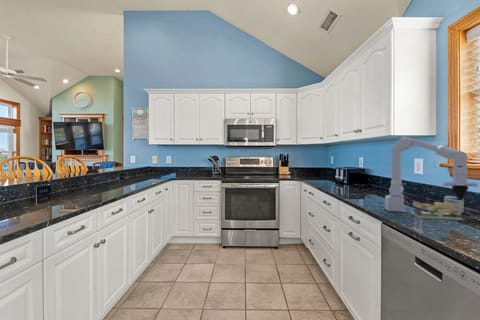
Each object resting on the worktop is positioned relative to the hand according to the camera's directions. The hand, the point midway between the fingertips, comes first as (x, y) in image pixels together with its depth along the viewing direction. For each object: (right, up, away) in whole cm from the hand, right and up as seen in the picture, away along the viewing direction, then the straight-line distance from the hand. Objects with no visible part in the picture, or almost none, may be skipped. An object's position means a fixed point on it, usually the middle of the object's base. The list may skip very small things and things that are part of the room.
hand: (459, 199), depth 132 cm
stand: (-10, -10, +3) cm, 14 cm away
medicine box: (+8, -9, +13) cm, 18 cm away
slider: (-7, -5, +2) cm, 9 cm away
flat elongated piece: (-10, -6, +3) cm, 12 cm away
